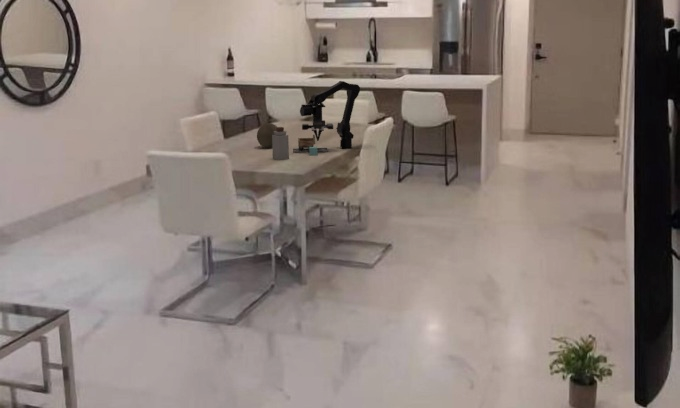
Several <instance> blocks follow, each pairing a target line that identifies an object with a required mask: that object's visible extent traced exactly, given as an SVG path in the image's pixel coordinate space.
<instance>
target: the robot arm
mask: <svg viewBox="0 0 680 408" xmlns="http://www.w3.org/2000/svg"><path fill="white" fill-rule="evenodd" d="M341 90H346V102H345V107H344V111H343V114H342V118H341V121H340V122H337V126H336V129H335V130H336V132H337V134H338V135H339V138H341V139H340V140H339V143H340V149H353V146H352V145H353V143H352V141H353V140H352V139H353V138H354V134H353V133H352V132H351V123H350V121H351V118H352V113H353V110H354V105H355V101H356V99H357V97H358V96H359V94H360V92H361V87H360V85H359V84H355V83H349V82H346V81H344V80H339V81H338V82H337V83H335V84H333V85H331V86H330V87H327V88H326V89H324V90H322V91H318V92H316V93H313V94H312V95H311V96H310V100H309V101H308V102H307V104H301V107H300V108H299V113H300V116H301V117H309V116H312V125H311V124H310V125H309V123H302V125H301V129H302V131H305V130H307V131H308V130H309V129H311V131H312V132H313V133H314V135H315V139H316V141H317V142H318V141H319V140H320V137H321V134H322V132H323V131H324V130H325V129H328V130H334V124H333V123H326V120H325V119H324V120H323V108H326V105H325V104H324V103H323V102H325V101H326V100H327V99H328V97H331V96H332V95H334V94H335V93H337V92H339V91H341Z"/></svg>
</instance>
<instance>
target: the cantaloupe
mask: <svg viewBox="0 0 680 408" xmlns="http://www.w3.org/2000/svg"><path fill="white" fill-rule="evenodd" d="M276 127H278V126H277V125H276V124H273V123H263V124H261V125H260V126H259V128H258V129H257V131H256V140H257V141H258V144H259V145H260V146H261V147H263V148H266V149H270V148H272V135H275V134H274V131H276Z"/></svg>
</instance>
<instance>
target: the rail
mask: <svg viewBox="0 0 680 408" xmlns="http://www.w3.org/2000/svg"><path fill="white" fill-rule="evenodd" d="M328 152H329V150H328V147H317V153H328ZM292 153H295V154H301V153H308V154H310V152H309V148H304V149H303V150H299V147H298V148H297V147H295V148H292Z"/></svg>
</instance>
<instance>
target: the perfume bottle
mask: <svg viewBox="0 0 680 408" xmlns="http://www.w3.org/2000/svg"><path fill="white" fill-rule="evenodd" d="M284 129H285V128H284V127H283V126H277V127H276V131H274V134H275V135H272V147H271V148H272V159H274V160H277V161H281V160H283V161H284V160H288V159H289V158H290V147H289V146H290V145H289V135H288V134H287V131H286V130H284Z"/></svg>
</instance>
